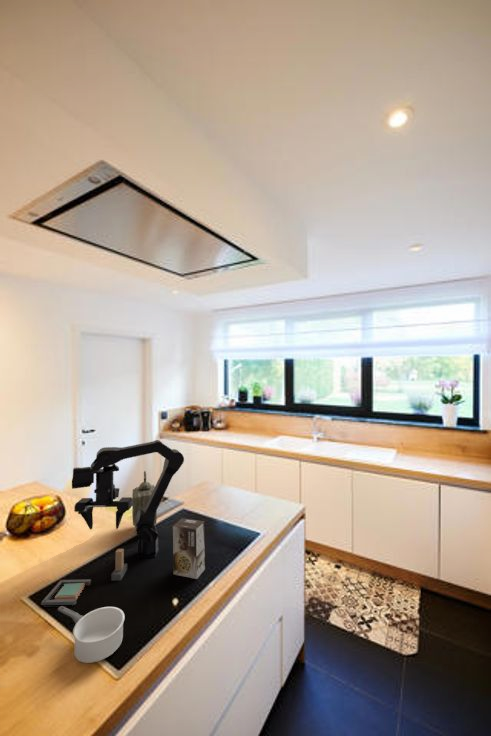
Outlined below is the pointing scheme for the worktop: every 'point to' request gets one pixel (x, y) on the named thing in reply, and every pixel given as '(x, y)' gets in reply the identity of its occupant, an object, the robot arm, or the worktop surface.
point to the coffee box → (188, 548)
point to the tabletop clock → (142, 497)
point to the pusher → (119, 566)
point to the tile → (70, 591)
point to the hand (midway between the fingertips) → (104, 528)
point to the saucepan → (96, 632)
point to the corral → (63, 601)
